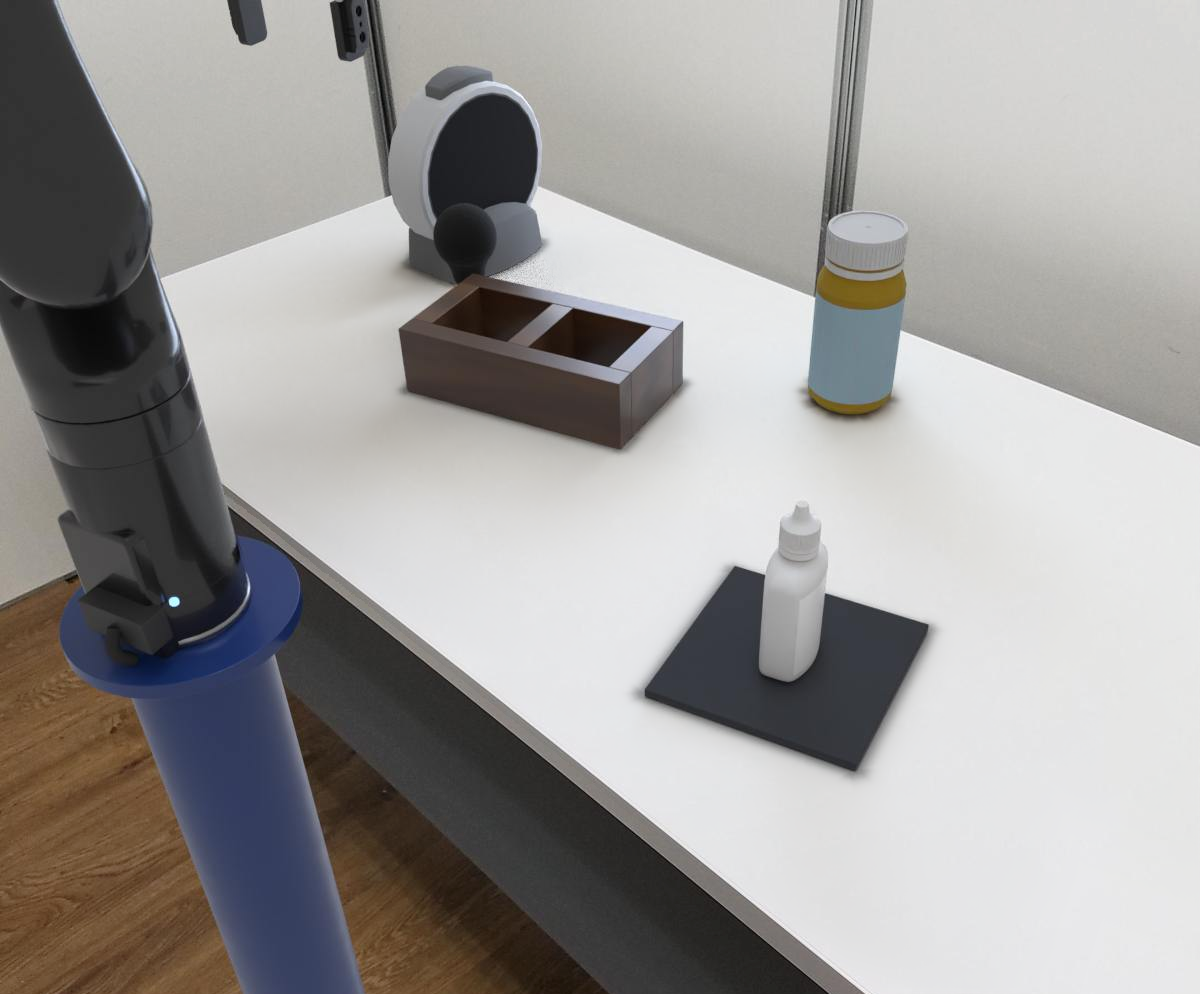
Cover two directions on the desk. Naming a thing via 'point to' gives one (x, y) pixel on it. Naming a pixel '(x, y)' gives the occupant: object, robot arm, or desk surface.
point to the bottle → (858, 312)
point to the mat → (806, 705)
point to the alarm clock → (467, 165)
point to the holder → (544, 358)
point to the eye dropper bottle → (793, 597)
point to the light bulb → (465, 239)
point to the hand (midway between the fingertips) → (303, 50)
